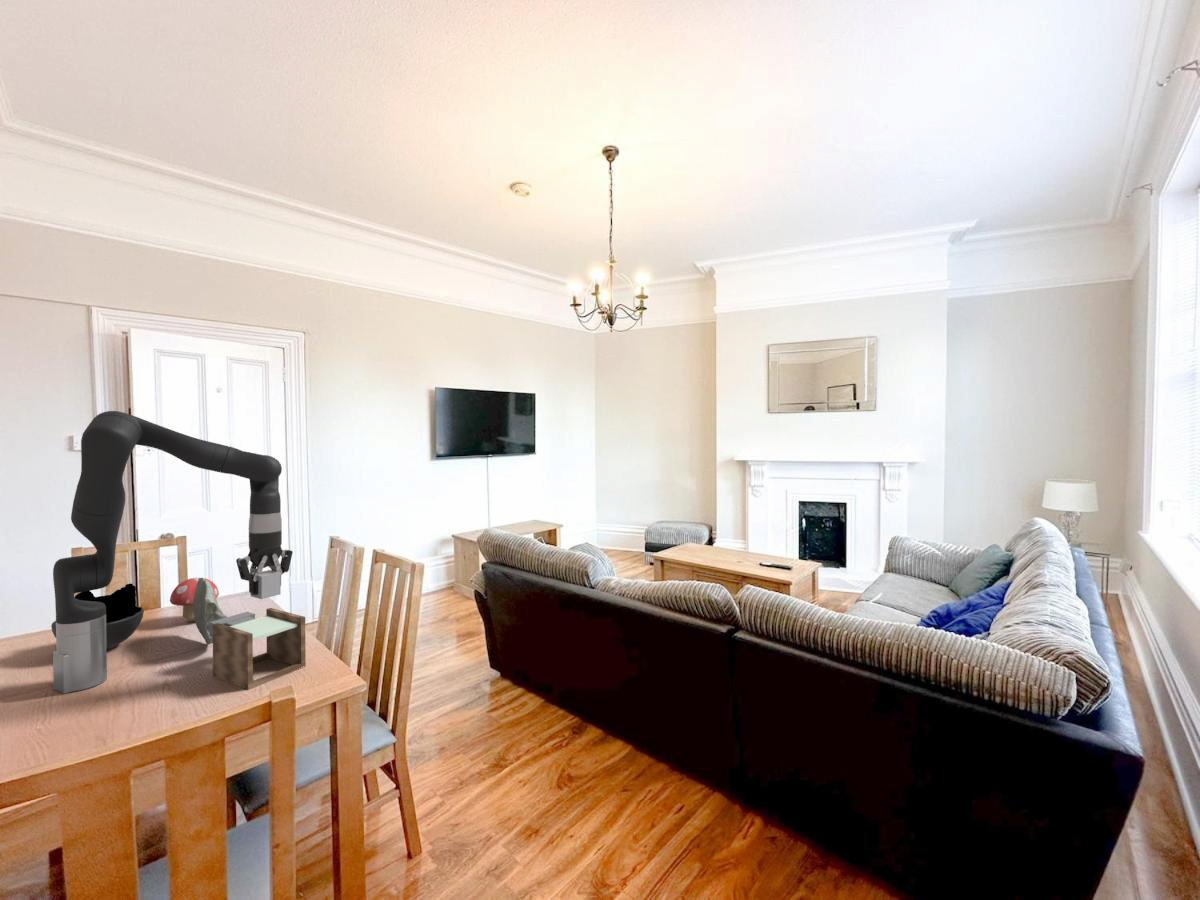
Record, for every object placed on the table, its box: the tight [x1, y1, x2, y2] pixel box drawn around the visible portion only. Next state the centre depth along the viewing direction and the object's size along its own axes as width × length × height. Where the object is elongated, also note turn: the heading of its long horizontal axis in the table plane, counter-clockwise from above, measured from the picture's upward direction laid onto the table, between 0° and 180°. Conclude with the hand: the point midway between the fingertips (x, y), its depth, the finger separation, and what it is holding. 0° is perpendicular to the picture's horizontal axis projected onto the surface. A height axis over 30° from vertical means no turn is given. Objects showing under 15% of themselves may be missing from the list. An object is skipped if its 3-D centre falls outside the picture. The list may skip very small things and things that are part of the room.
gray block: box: [250, 569, 282, 600], centre depth 143 cm, size 5×5×6 cm
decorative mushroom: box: [169, 577, 220, 623], centre depth 182 cm, size 13×13×15 cm
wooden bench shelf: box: [212, 607, 306, 690], centre depth 145 cm, size 16×15×14 cm
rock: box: [193, 577, 228, 646], centre depth 162 cm, size 27×6×20 cm, turn 48°
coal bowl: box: [50, 583, 145, 650], centre depth 158 cm, size 20×20×19 cm
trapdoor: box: [209, 611, 297, 642], centre depth 147 cm, size 22×12×4 cm, turn 63°
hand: (265, 591), depth 143 cm, fingers closed on gray block, 5 cm apart
